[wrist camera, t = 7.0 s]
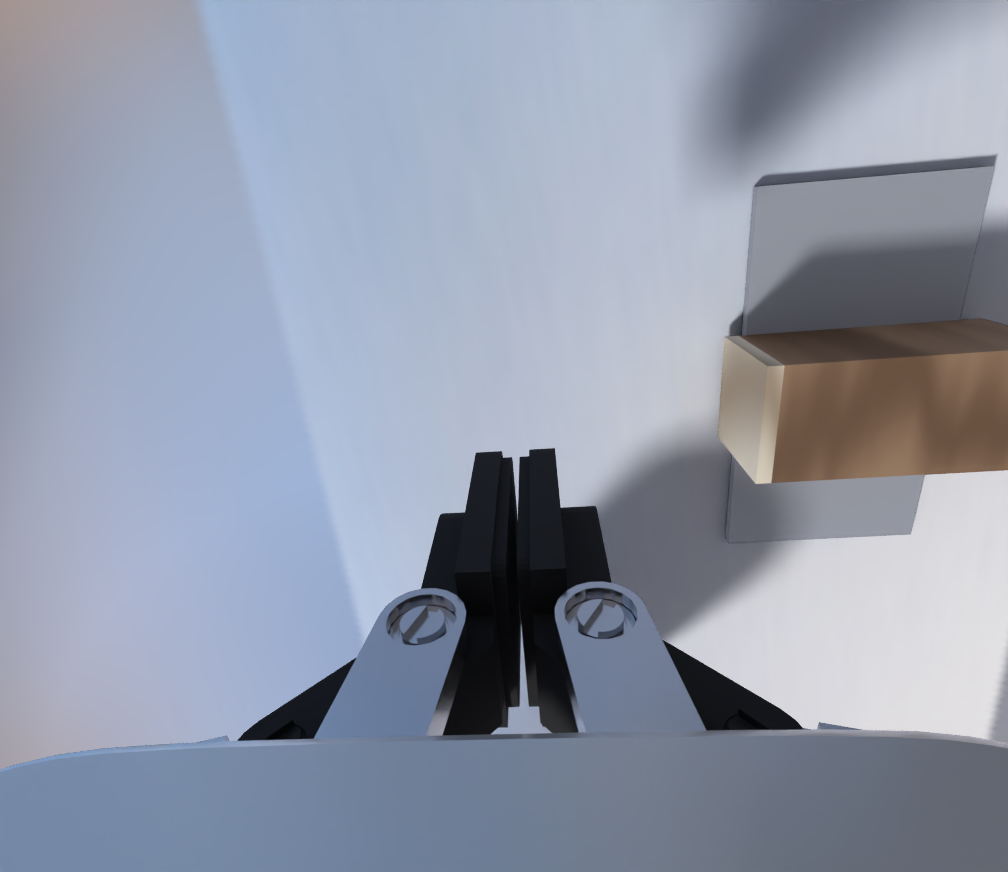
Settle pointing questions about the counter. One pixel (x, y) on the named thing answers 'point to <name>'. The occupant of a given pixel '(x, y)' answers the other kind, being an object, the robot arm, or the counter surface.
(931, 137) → the counter surface
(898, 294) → the mat
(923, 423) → the block
